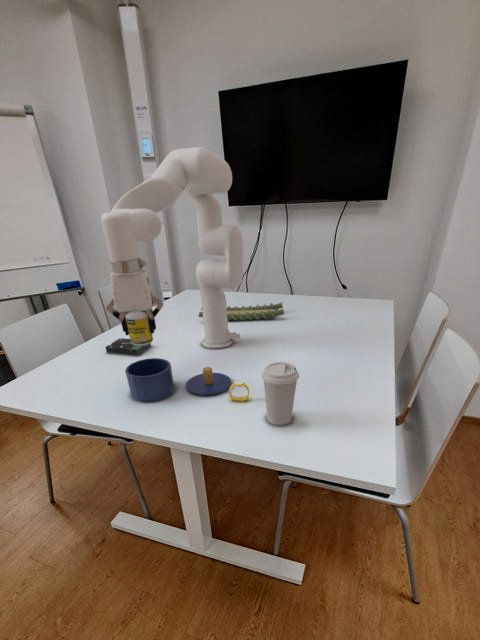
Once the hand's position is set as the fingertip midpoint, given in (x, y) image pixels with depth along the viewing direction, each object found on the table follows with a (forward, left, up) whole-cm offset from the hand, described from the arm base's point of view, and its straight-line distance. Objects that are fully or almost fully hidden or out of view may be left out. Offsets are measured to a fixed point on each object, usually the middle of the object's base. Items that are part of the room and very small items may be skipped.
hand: (140, 332), depth 103 cm
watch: (-27, +10, -20) cm, 35 cm away
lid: (-18, -1, -19) cm, 26 cm away
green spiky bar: (-35, -70, -20) cm, 80 cm away
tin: (0, 0, -19) cm, 19 cm away
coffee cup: (-37, +22, -20) cm, 48 cm away
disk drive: (+14, -38, -20) cm, 45 cm away
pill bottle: (0, 0, -3) cm, 3 cm away
